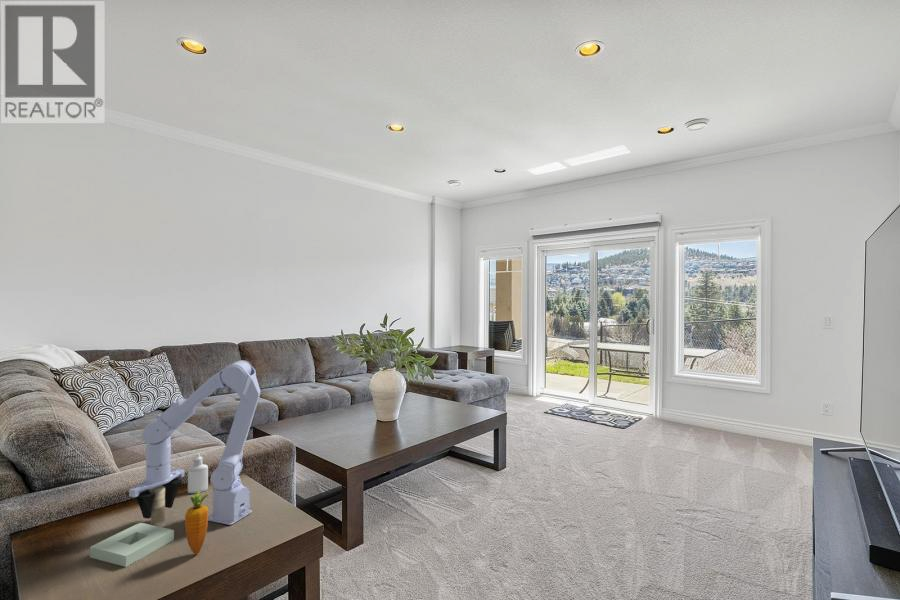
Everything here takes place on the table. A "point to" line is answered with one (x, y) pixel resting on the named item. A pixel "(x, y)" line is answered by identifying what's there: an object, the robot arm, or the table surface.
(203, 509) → the carrot
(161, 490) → the ash wood peg
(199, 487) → the eye dropper bottle
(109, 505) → the table surface
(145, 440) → the robot arm
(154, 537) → the hole block
